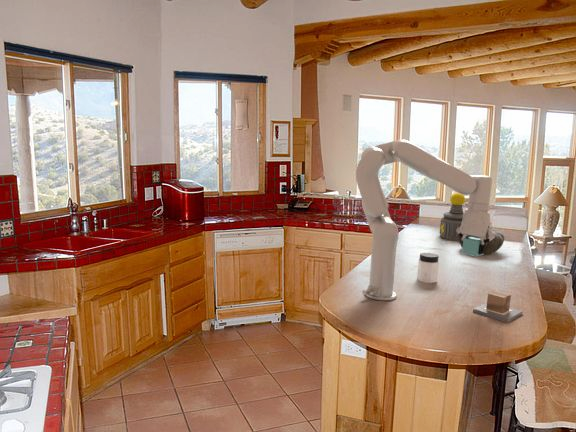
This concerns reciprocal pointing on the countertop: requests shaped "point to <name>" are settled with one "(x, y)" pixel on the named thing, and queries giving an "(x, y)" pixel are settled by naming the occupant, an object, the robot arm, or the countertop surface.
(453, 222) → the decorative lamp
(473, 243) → the teal block
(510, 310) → the grey square plate
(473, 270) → the countertop surface
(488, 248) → the gourd
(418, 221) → the countertop surface
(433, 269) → the jar
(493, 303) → the walnut block
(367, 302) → the countertop surface
